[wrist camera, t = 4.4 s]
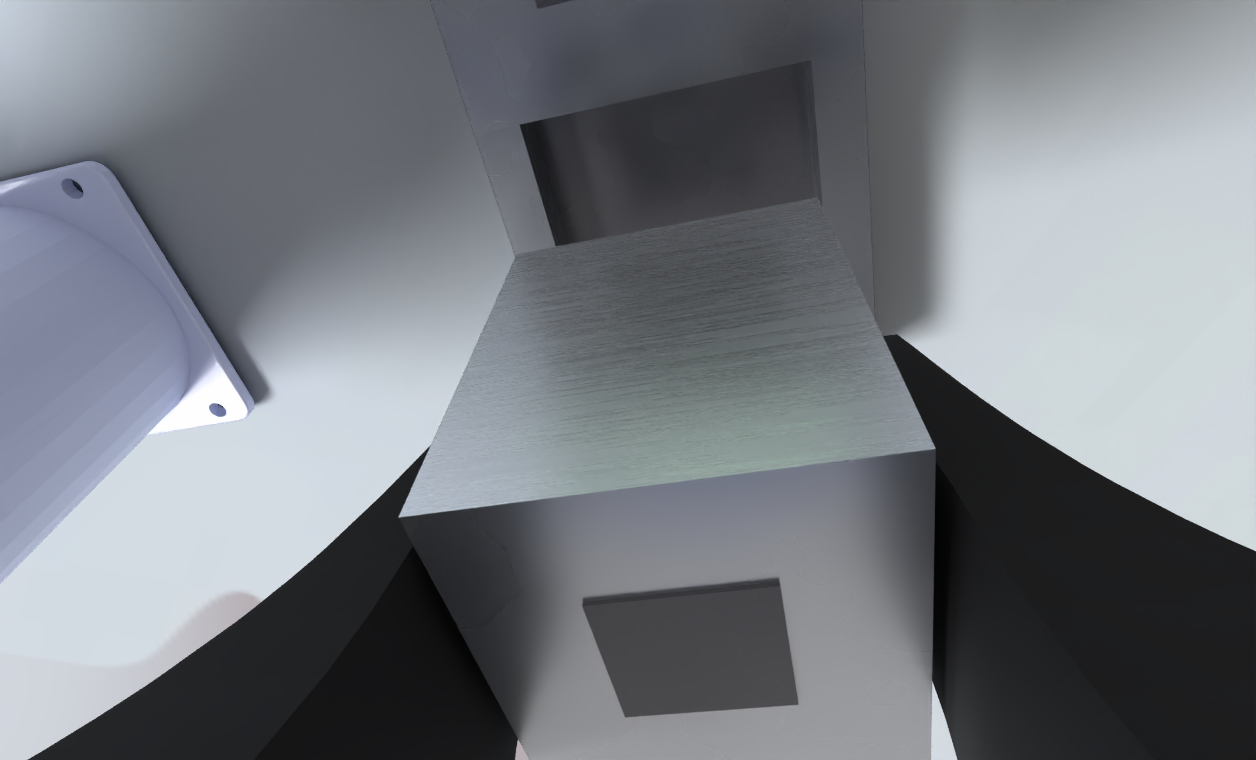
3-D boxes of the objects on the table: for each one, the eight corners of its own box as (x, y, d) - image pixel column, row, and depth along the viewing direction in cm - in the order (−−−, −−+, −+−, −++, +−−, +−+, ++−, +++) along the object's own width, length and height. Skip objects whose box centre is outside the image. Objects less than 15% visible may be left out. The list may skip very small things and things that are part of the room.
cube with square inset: (588, 474, 13) (542, 787, 8) (517, 253, 11) (396, 522, 6) (836, 442, 12) (932, 766, 8) (817, 197, 10) (936, 453, 5)
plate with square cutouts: (585, 398, 22) (577, 445, 20) (386, -242, 14) (341, -265, 12) (860, 355, 20) (878, 402, 18) (819, -382, 12) (845, -432, 10)
